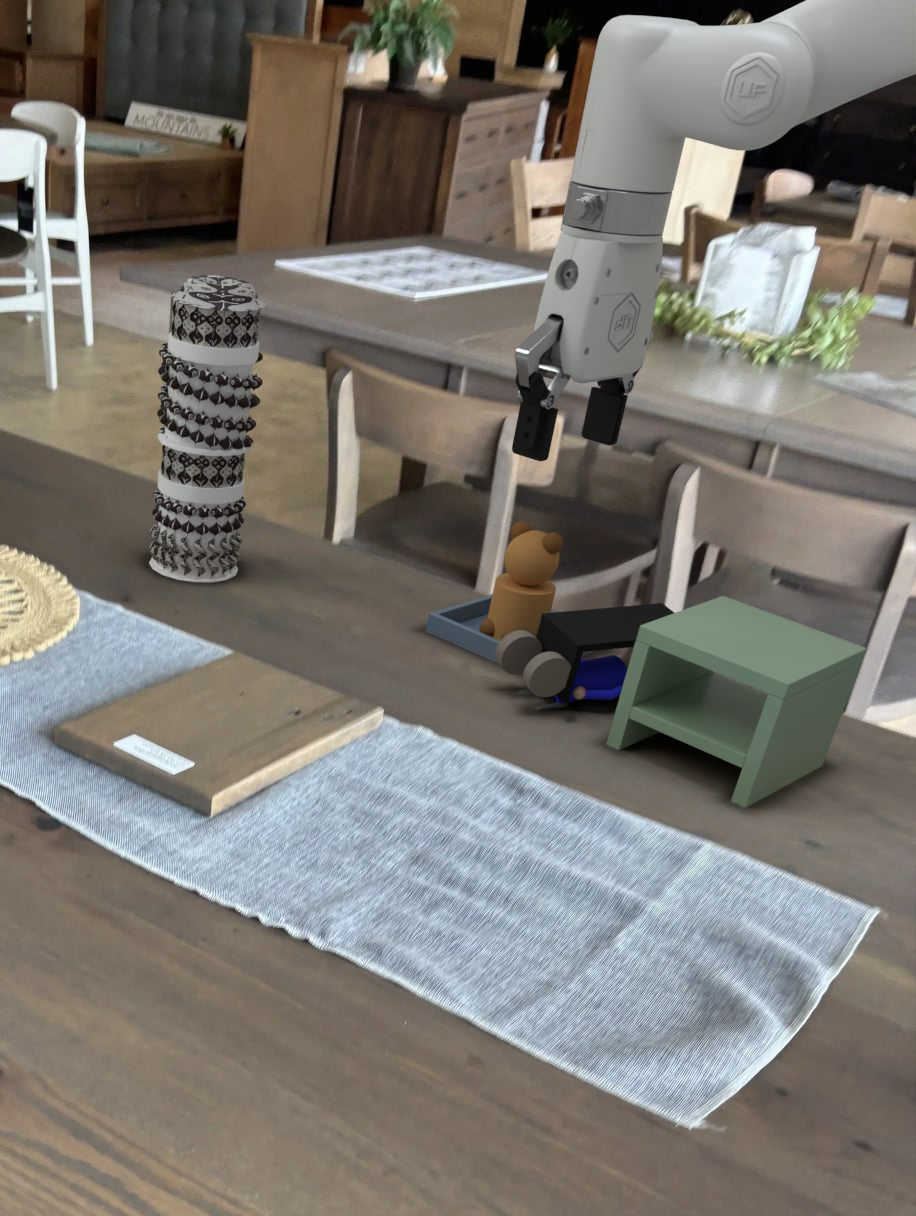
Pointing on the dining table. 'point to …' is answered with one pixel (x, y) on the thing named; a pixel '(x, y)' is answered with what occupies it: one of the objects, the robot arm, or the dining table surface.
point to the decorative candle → (205, 428)
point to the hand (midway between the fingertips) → (564, 448)
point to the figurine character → (576, 652)
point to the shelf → (738, 691)
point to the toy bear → (524, 582)
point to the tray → (467, 626)
